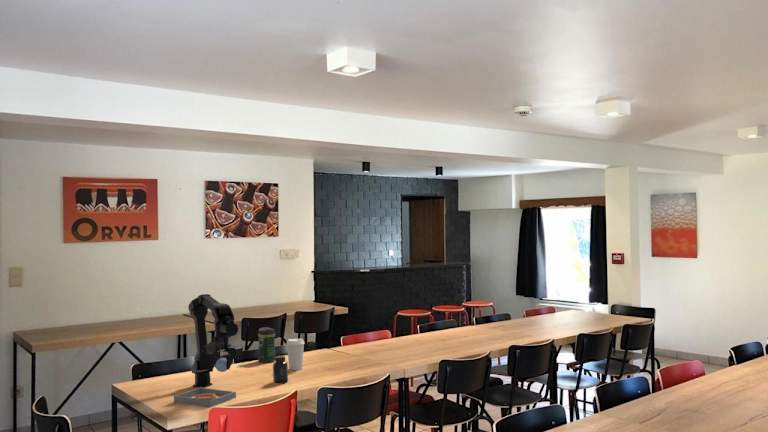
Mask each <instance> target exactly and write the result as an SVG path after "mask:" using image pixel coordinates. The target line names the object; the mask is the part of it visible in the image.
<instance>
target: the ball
mask: <svg viewBox="0 0 768 432" xmlns="http://www.w3.org/2000/svg"><path fill="white" fill-rule="evenodd" d="M215 369H216V370H217V371H218V372H220V373H223V372H226V371H228V370H227V360H226V357H221V358H220V357H219V360H217V362H216V368H215Z"/></svg>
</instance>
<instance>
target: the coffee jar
mask: <svg viewBox="0 0 768 432" xmlns="http://www.w3.org/2000/svg"><path fill="white" fill-rule="evenodd" d="M257 336H258V361H259V362H261V363H272V362H273V363H274V362H276V361H275V357H276V349H275V348H276V347H275V346H276V345H275V339H276V338H275V336H276V332H275V329H274V328H272V327H267V326H265V327H264V326H263V327H260V328H259V329H258V332H257Z"/></svg>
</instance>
